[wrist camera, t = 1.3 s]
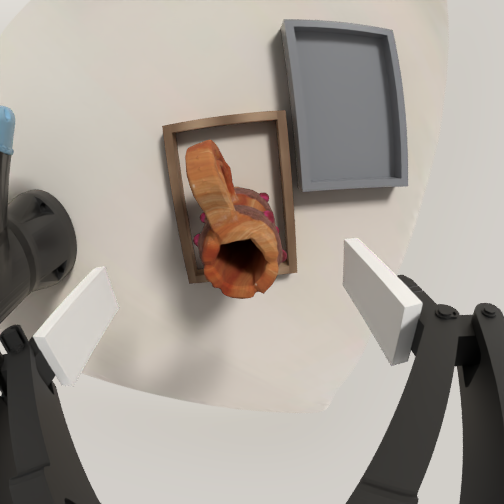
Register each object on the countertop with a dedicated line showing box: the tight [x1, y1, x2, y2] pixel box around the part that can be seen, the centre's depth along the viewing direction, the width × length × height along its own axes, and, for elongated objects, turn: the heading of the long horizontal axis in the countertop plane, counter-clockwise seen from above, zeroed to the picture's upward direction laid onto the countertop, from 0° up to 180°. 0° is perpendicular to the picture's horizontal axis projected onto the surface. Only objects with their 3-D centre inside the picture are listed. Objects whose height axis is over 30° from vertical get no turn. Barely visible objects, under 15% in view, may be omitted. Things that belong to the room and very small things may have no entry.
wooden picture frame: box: [162, 110, 297, 284], centre depth 34 cm, size 14×20×2 cm
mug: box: [185, 140, 287, 299], centre depth 28 cm, size 15×8×15 cm, turn 19°
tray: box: [281, 20, 408, 192], centre depth 29 cm, size 14×21×3 cm, turn 6°
